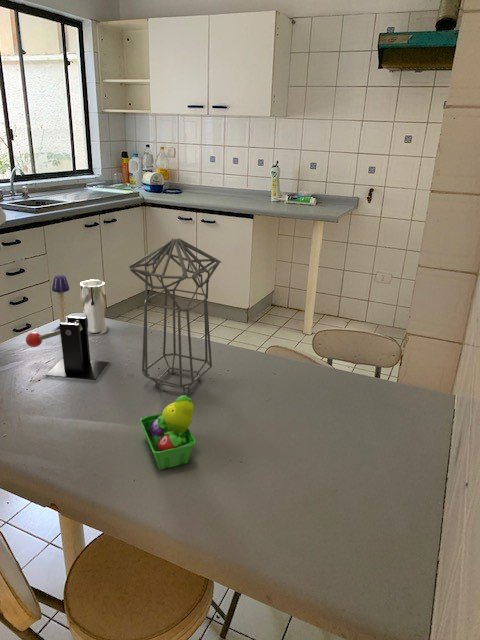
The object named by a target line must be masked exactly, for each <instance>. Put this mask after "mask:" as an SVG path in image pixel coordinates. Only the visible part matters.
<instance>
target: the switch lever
mask: <svg viewBox="0 0 480 640" xmlns="http://www.w3.org/2000/svg"><path fill="white" fill-rule="evenodd" d="M70 323H75V324H80V331H81V330H82V329H83V327H82V325H81V323H80V321H79V320H77V321H73V322H70ZM57 336H61V334H60V329H59V330H56V329H55V330H53V331H50V332H46V333H43V334H40V333H39V332H36V331H32V332H30V333H28V334H27V335H26V336H25V344H26V345H27V346H28V347H31V348H37V347H39V346H40V345H41V344H42V343H43V340H47V339H50V338H53V337H57Z"/></svg>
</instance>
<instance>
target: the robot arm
mask: <svg viewBox="0 0 480 640" xmlns="http://www.w3.org/2000/svg"><path fill="white" fill-rule="evenodd" d="M6 221H7V215H6V212H5V210H4V209H3V208H2V207H1V206H0V226H1V225H3V224H4V223H6ZM3 249H4V246H3V243H2V242H0V251H2V250H3Z"/></svg>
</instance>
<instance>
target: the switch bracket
mask: <svg viewBox="0 0 480 640" xmlns="http://www.w3.org/2000/svg"><path fill="white" fill-rule="evenodd" d="M77 320H79V321H80V323H81V325H82V327H83V329H82V330H81V331H80V324H75V323H70V322H73V321H77ZM58 326H60V342H61V349H62V351H61V352H62V358H60V359H59V361H58V362H57V363H56V364H55V365H54V366H52V368H51V369H50V370H49V371H47V373H46V374H45V375H44V376H45V377H53V378H54V377H55V378H66V379H76V380H87V381H88V380H89V381H96V380H97V378H98V377H99V376H100V375H101V373H102V372H103V371H104V370H105V369H106V367H107V366H108V365H109V363H110V362H109V361H105V360H104V361H101V360H92V359H91V353H90V352H91V351H90V340H89V339H90V338H89V334H88V327H87V317H85V316H75V315H73V316H72V315H68V316H66V323H62V322H61V323H60V322H59V324H58Z"/></svg>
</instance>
